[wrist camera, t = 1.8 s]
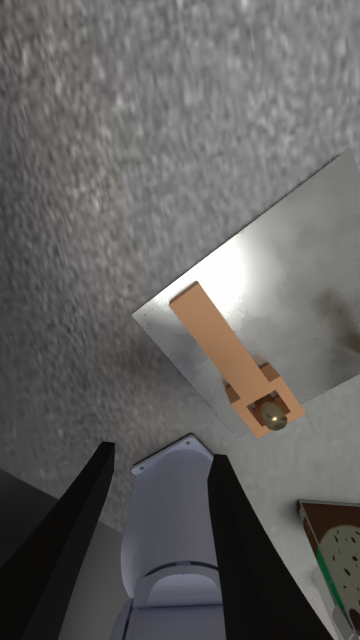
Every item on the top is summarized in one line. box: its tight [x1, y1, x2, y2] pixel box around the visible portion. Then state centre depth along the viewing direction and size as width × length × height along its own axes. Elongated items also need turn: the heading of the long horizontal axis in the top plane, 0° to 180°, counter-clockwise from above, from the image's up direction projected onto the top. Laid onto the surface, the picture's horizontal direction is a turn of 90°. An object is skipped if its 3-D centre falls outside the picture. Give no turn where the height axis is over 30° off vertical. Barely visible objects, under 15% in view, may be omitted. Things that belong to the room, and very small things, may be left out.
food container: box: [297, 499, 360, 640], centre depth 21 cm, size 12×6×10 cm, turn 84°
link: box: [169, 281, 306, 438], centre depth 16 cm, size 16×5×2 cm, turn 37°
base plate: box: [132, 148, 360, 438], centre depth 15 cm, size 20×18×4 cm
